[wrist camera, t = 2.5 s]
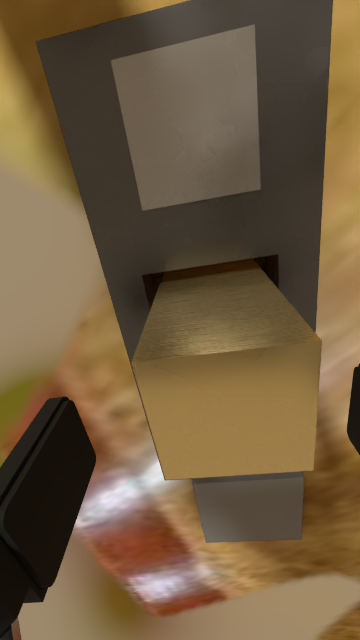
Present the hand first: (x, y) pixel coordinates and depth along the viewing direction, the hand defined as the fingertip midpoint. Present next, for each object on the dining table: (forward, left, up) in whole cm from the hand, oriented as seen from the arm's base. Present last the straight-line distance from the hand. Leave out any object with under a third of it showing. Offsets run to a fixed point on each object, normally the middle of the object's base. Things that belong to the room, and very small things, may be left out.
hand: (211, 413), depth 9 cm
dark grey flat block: (-1, 0, -8) cm, 8 cm away
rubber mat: (-2, +20, -8) cm, 21 cm away
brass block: (-1, 0, -8) cm, 8 cm away
